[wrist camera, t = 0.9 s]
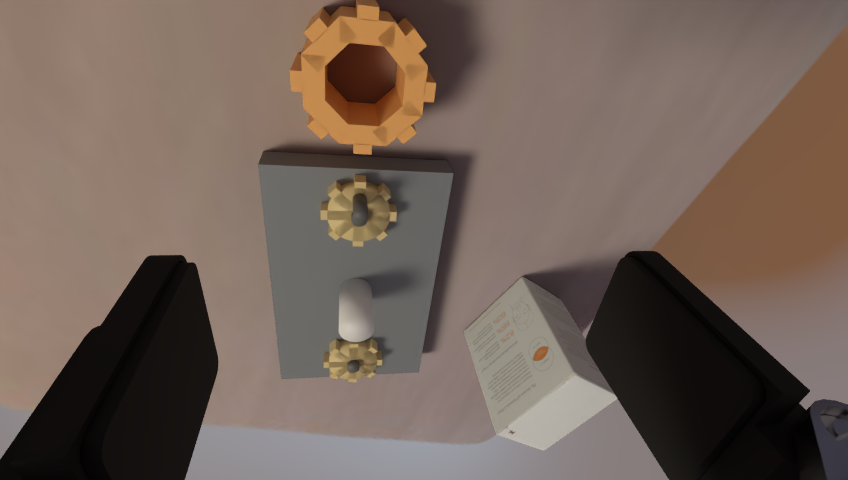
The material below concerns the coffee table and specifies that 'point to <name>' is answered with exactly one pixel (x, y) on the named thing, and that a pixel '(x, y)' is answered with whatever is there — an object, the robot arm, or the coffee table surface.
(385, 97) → the gear
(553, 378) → the small box
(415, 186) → the board
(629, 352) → the robot arm
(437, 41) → the coffee table surface
